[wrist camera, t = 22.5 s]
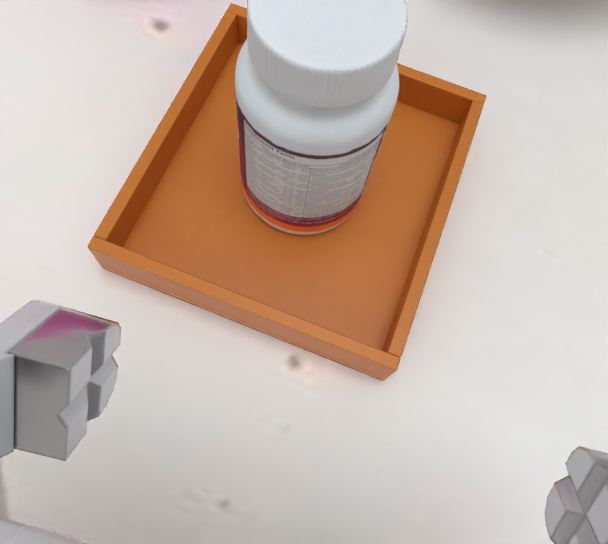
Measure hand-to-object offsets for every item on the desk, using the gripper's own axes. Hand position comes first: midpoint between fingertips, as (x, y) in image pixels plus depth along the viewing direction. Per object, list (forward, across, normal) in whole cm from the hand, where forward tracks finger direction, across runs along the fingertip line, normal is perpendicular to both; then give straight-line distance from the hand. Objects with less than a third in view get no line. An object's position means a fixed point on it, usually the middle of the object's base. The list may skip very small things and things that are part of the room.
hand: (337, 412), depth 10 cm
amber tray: (+20, +3, +2) cm, 20 cm away
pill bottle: (+19, +3, +2) cm, 20 cm away
